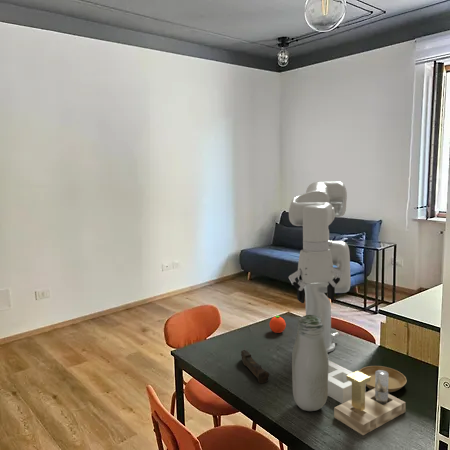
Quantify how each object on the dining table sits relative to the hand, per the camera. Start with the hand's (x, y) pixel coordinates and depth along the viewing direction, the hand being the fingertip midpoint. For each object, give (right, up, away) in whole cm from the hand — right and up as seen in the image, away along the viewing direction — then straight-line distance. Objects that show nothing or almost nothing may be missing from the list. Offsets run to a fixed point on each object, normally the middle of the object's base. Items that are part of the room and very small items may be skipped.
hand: (316, 300), depth 132 cm
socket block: (+13, -30, -11) cm, 35 cm away
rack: (+7, -29, +4) cm, 30 cm away
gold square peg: (+9, -27, -14) cm, 32 cm away
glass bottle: (-3, -31, -6) cm, 31 cm away
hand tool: (-19, -28, +17) cm, 38 cm away
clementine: (-6, -23, +50) cm, 55 cm away
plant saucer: (+22, -28, +6) cm, 36 cm away
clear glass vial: (+17, -30, -8) cm, 35 cm away
